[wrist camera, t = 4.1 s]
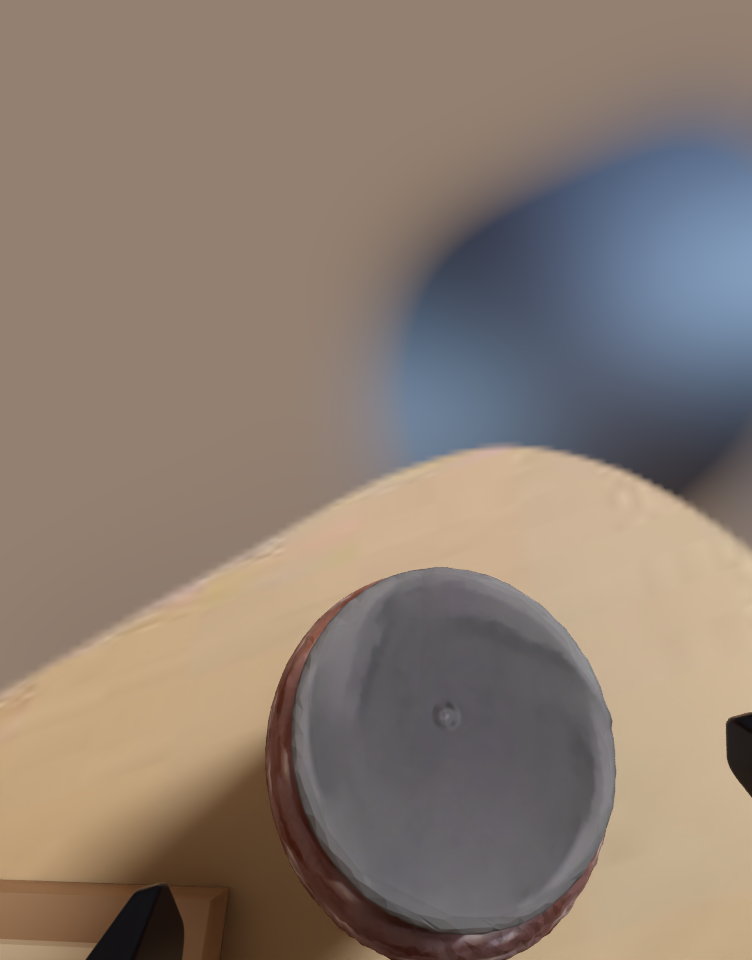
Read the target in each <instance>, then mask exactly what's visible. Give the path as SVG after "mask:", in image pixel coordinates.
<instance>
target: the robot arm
mask: <svg viewBox="0 0 752 960" xmlns="http://www.w3.org/2000/svg"><path fill="white" fill-rule="evenodd" d="M726 747H727V760H728V764H729V766H730V769H731V770H732V772H733V774H734V775H735V777H736V778H737V779H738V781H739V782H740V783H741V784H742V786H743V787H744V788H745V790H746V791H747V792H748V793H749V795H750V796H751V797H752V712H749V713H744V714H741V715H737V716H734V717H731V718H729V719H728V721H727V722H726ZM183 949H184V924H183V920H182V917H181V914H180V912H179V909H178V907H177V904H176V902H175V899H174V897H173V894H172V892H171V889H170V887H169V885H168V884H166V883H165V882H160V883H156V884H153V885H149V886H146V887H142V888H140V889H138V890H137V891H136V892H135V893H134V894H132V896H131V897H130V898H129V900H128V901H127V902H126V904H125V905H124V907H123V908H122V909H121V911H120V912H119V914H118V915H117V916H116V918H115V919H114V920H113V922H112V923H111V925H110V926H109V927H108V929H107V930H106V932H105V933H104V934H103V936H102V937H101V938H100V940H99V941H98V943H97V944H96V945H95V947H94V948H93V950H92V951H91V952H90V954H89V955H88V957H87V958H86V959H85V960H182V958H183Z"/></svg>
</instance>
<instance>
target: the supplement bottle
mask: <svg viewBox="0 0 752 960" xmlns="http://www.w3.org/2000/svg"><path fill="white" fill-rule="evenodd" d="M611 727H612V718H611V715H610V712H609V710H608V708H607V706H606V704H605V701H604V698H603V694H602V691H601V687H600V685H599V683H598V680H597V678H596V676H595V674H594V672H593V670H592V667H591V665H590V663H589V661H588V659H587V658H586V657H585V656H584V654H583V653H582V652H581V650H580V649H579V647H578V645H577V644H576V642H575V641H574V640H573V638H572V637H571V636H570V634H569V633H568V631H567V630H566V629H565V628H564V627H563V626H562V625H561V624H560V623H559V622H558V621H557V620H556V619H555V618H553V617H552V615H551V614H550V613H549V612H548V611H547V610H546V609H545V608H544V607H543V606H541V605H540V604H539V603H538V602H536V601H534V600H533V599H531V598H530V597H528V596H526V595H525V594H523V593H522V592H520V591H519V590H517V589H516V588H514V587H513V586H511V585H509V584H507V583H504V582H502V581H500V580H498V579H496V578H493V577H491V576H488V575H486V574H480V573H476V572H473V571H469V570H459V569H453V568H448V567H434V568H428V569H420V570H413V571H408V572H404V573H400V574H397V575H394V576H391V577H388V578H385V579H381V580H379V581H376V582H374V583H371V584H369V585H367V586H364V587H362V588H361V589H359V590H357V591H355V592H353V593H351V594H350V595H348V596H347V597H345V598H344V599H342V600H341V601H339V602H338V603H336V604H335V605H334V606H333V607H332V608H331V609H329V610H328V611H327V612H326V613H325V614H324V615H323V616H322V617H321V618H319V619H318V620H317V622H316V623H315V624H314V625H313V626H312V628H311V629H310V630H309V631H308V632H307V634H306V635H305V636H304V637H303V639H302V640H301V642H300V644H299V645H298V647H297V648H296V650H295V651H294V653H293V655H292V656H291V658H290V660H289V661H288V663H287V665H286V667H285V670H284V672H283V674H282V677H281V679H280V682H279V684H278V687H277V690H276V693H275V697H274V700H273V703H272V705H271V711H270V715H269V720H268V729H267V737H266V768H265V770H266V776H267V787H268V793H269V799H270V805H271V810H272V815H273V819H274V822H275V825H276V828H277V831H278V834H279V837H280V839H281V842H282V845H283V848H284V850H285V853H286V855H287V857H288V859H289V861H290V864H291V866H292V868H293V870H294V871H295V873H296V875H297V876H298V878H299V880H300V881H301V883H302V884H303V886H304V887H305V889H306V890H307V891H308V893H309V894H310V895H311V897H312V898H313V899H314V900H315V901H316V902H317V903H318V905H320V906H321V907H322V909H323V910H324V911H325V913H326V914H327V915H328V916H329V917H330V918H331V919H332V920H333V921H334V923H335V924H336V925H337V926H338V927H339V928H340V929H342V930H344V931H345V932H346V933H347V934H348V935H349V936H350V937H353V938H355V939H356V940H357V941H358V942H359V943H360V944H361V945H363V946H366V947H368V948H371V949H373V950H375V951H376V952H377V953H379V954H382V955H384V956H386V957H387V958H389V959H390V960H506V959H510V958H511V957H513V956H514V955H516V954H518V953H520V952H523V951H525V950H527V949H528V948H530V947H531V946H533V945H534V944H536V943H538V942H539V941H540V939H541V938H542V937H544V936H546V935H548V934H549V933H550V932H551V931H552V930H553V928H554V927H555V926H556V925H557V924H558V923H559V922H560V920H561V919H562V918H563V917H565V916H566V915H567V914H568V912H569V911H570V910H571V908H572V906H573V904H574V902H575V900H576V898H577V897H578V896H579V894H580V893H581V892H582V891H583V889H584V887H585V885H586V883H587V881H588V879H589V877H590V875H591V872H592V870H593V868H594V867H595V866H596V864H597V860H598V854H599V851H600V849H601V846H602V845H603V841H604V837H605V832H606V828H607V825H608V822H609V819H610V815H611V812H612V809H613V803H614V795H615V778H616V765H615V748H614V738H613V734H612V729H611Z"/></svg>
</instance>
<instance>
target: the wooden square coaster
mask: <svg viewBox="0 0 752 960" xmlns="http://www.w3.org/2000/svg"><path fill="white" fill-rule="evenodd" d="M146 886H149V885H135V884H107V883H80V882H52V881H25V880H0V960H85V959H86V958H87V957H88V955H89V954H90V952H91V951H92V950H93V948H94V947H95V945H96V944H97V943H98V941H99V940H100V938H101V937H102V936H103V934H104V933H105V932H106V930H107V929H108V927H109V926H110V925H111V923H112V922H113V920H114V919H115V918H116V916H117V915H118V914H119V912H120V911H121V909H122V908H123V907H124V905H125V904H126V902H127V901H128V900H129V898H130V897H131V896H132V894H134V893H135V892H136V891H137V890H138V889H140V888H142V887H146ZM169 887H170V889H171V892H172V894H173V897H174V899H175V902H176V904H177V907H178V909H179V912H180V914H181V917H182V920H183V924H184V949H183V958H182V960H219V959H220V951H221V944H222V937H223V930H224V923H225V916H226V909H227V902H228V895H229V888H218V887H190V886H169Z"/></svg>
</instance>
